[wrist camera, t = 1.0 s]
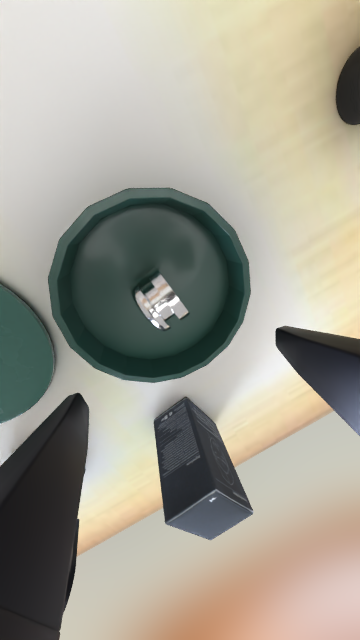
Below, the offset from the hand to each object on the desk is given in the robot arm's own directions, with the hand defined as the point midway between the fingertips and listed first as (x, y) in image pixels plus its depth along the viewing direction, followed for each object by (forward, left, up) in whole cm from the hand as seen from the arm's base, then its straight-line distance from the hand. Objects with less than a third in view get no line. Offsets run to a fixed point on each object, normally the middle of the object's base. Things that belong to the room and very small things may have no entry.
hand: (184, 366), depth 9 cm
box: (-1, -19, -12) cm, 23 cm away
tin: (0, 0, -12) cm, 12 cm away
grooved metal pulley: (0, 0, -12) cm, 12 cm away
